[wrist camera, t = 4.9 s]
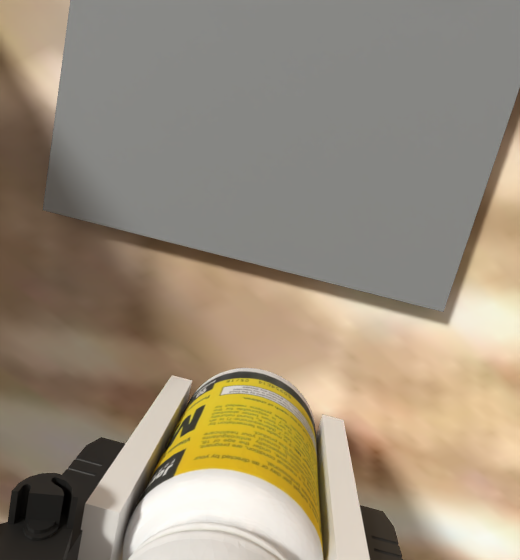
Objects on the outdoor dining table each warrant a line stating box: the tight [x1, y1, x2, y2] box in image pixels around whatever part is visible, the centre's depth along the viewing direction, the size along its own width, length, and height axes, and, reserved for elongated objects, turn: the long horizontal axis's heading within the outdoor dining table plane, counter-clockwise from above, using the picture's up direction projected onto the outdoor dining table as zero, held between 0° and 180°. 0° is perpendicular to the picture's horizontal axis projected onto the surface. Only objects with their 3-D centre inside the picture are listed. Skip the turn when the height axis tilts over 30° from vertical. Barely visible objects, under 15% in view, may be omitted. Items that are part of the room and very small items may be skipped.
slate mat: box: [43, 0, 520, 312], centre depth 17 cm, size 17×13×1 cm
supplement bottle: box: [122, 368, 324, 560], centre depth 12 cm, size 5×5×8 cm
